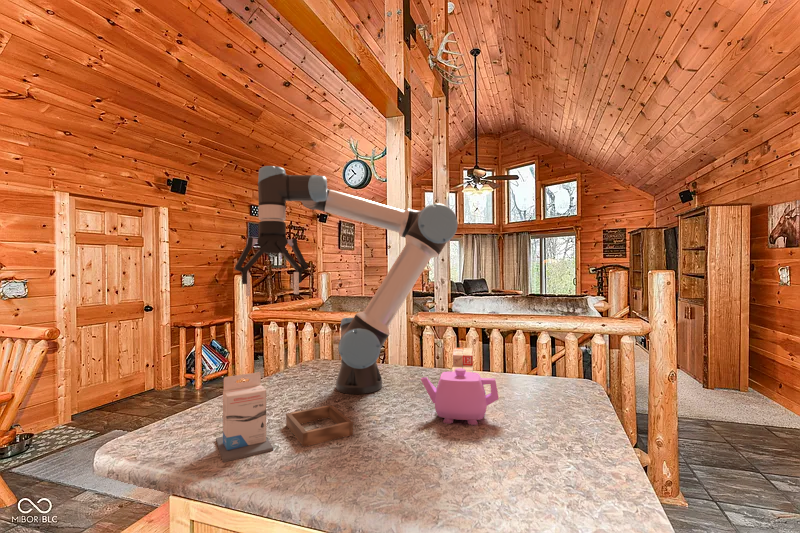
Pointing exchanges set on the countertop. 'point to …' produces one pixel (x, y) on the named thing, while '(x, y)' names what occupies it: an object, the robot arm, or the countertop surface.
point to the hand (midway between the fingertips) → (272, 295)
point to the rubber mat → (242, 450)
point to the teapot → (461, 395)
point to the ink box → (244, 411)
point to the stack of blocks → (463, 359)
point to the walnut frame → (324, 433)
